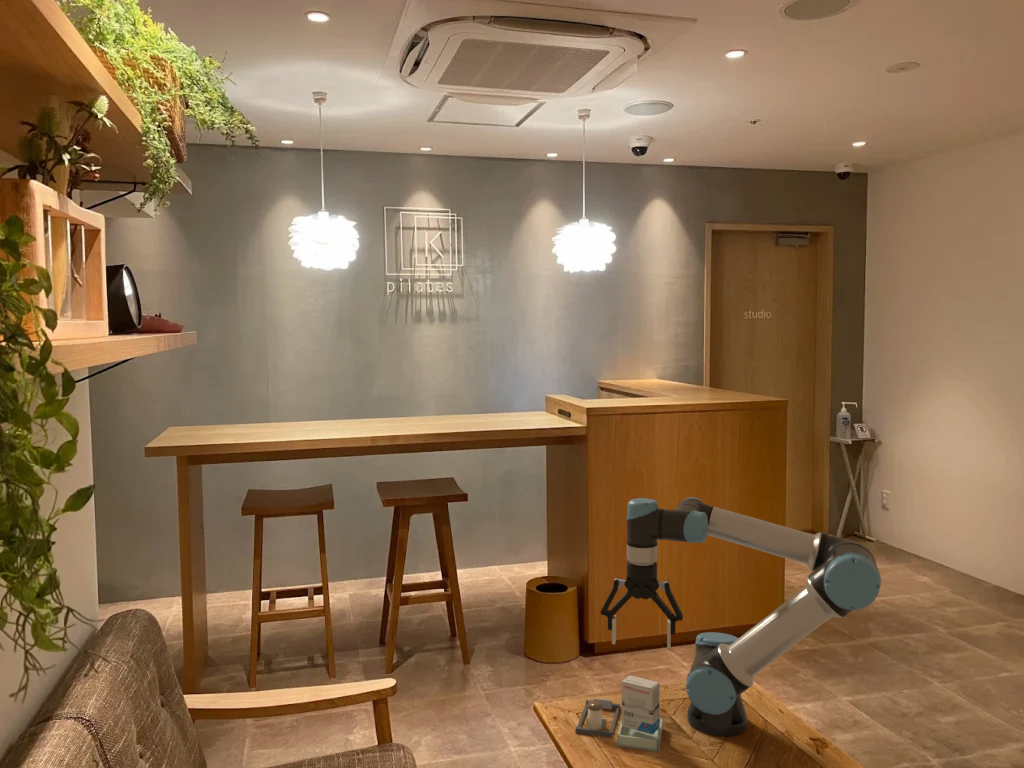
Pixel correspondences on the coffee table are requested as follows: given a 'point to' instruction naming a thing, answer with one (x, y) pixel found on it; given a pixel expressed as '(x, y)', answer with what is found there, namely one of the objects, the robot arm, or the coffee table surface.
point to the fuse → (595, 715)
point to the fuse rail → (605, 733)
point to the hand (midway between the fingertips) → (641, 644)
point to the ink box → (640, 704)
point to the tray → (639, 738)
